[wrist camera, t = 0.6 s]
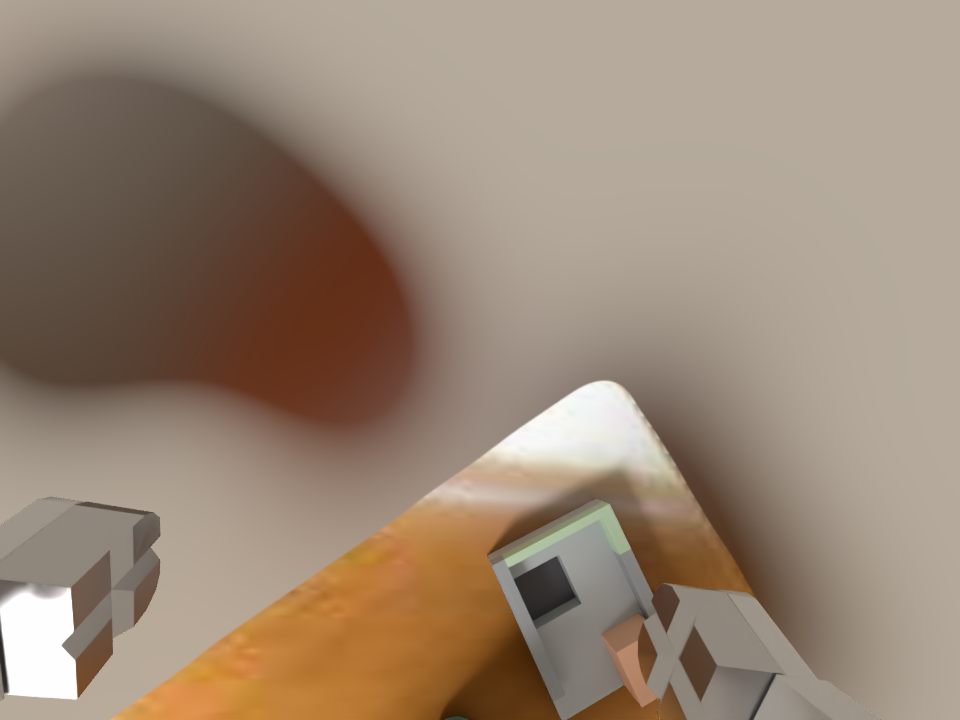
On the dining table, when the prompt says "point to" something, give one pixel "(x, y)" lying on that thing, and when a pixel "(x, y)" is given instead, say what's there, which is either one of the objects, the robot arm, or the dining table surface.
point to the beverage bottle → (456, 718)
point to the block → (629, 657)
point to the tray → (573, 600)
